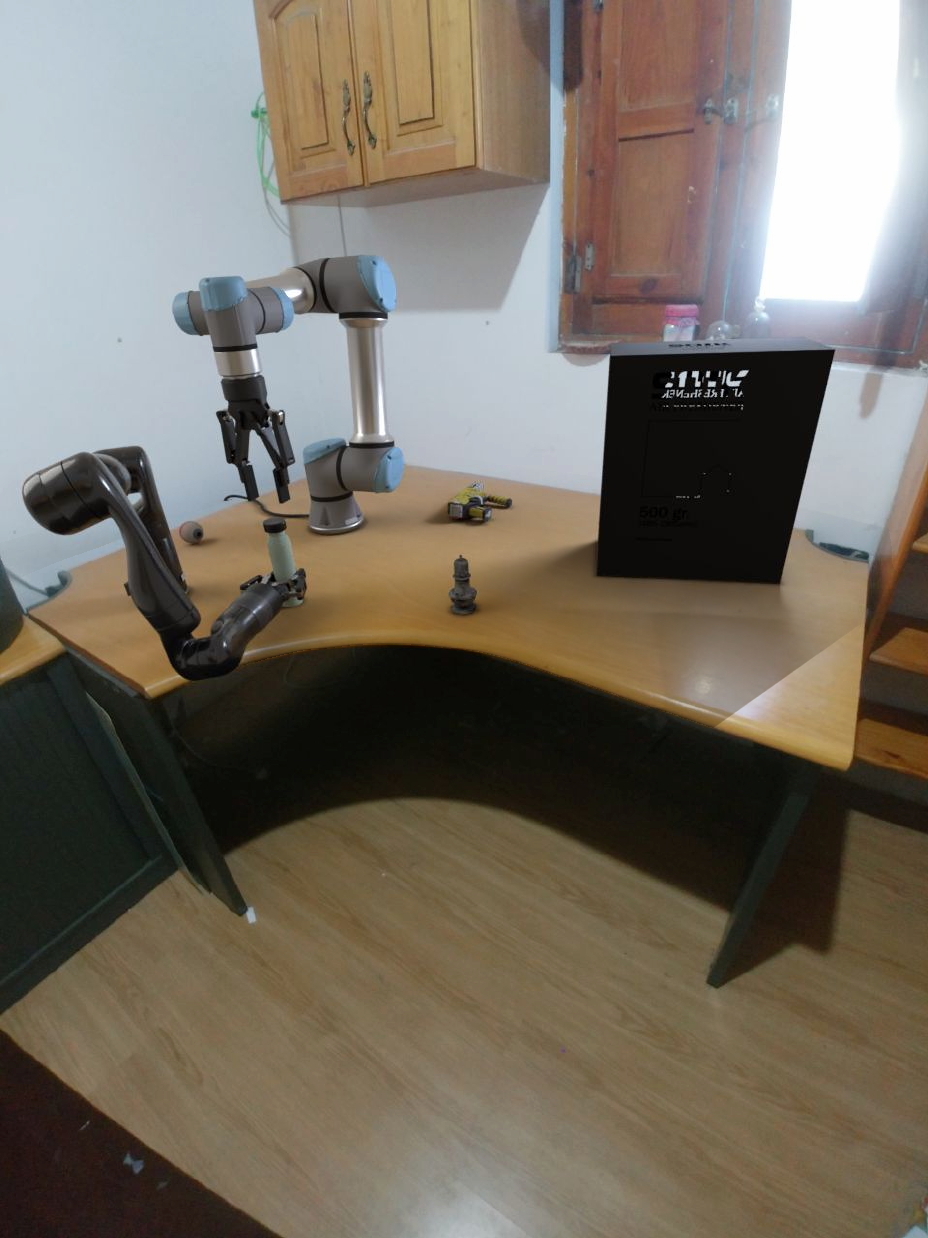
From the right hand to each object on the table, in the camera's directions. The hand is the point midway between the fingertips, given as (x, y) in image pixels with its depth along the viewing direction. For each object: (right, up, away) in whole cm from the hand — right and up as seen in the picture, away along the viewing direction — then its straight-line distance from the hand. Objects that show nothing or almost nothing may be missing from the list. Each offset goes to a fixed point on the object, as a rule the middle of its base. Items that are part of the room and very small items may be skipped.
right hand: (269, 499), depth 119 cm
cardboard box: (+88, -10, +19) cm, 91 cm away
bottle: (+1, -20, +11) cm, 23 cm away
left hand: (+1, -13, +11) cm, 17 cm away
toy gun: (+44, +9, +56) cm, 72 cm away
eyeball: (-34, -3, +44) cm, 56 cm away
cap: (0, -4, +2) cm, 5 cm away
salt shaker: (+38, -21, +5) cm, 44 cm away
